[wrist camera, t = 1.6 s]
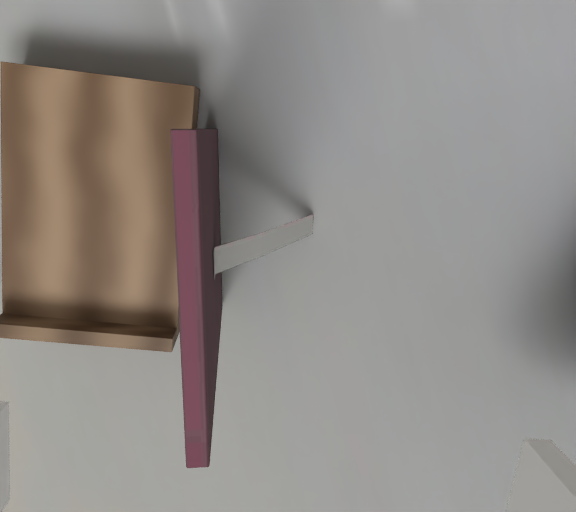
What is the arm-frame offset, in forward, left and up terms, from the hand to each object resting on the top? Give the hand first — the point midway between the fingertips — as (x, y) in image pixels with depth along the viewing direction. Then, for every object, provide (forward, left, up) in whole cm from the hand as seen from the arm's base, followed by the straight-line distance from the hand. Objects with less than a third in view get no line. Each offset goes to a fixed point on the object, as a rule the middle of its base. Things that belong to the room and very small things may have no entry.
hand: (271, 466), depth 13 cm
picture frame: (0, 0, -37) cm, 37 cm away
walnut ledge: (+14, 0, -37) cm, 39 cm away
